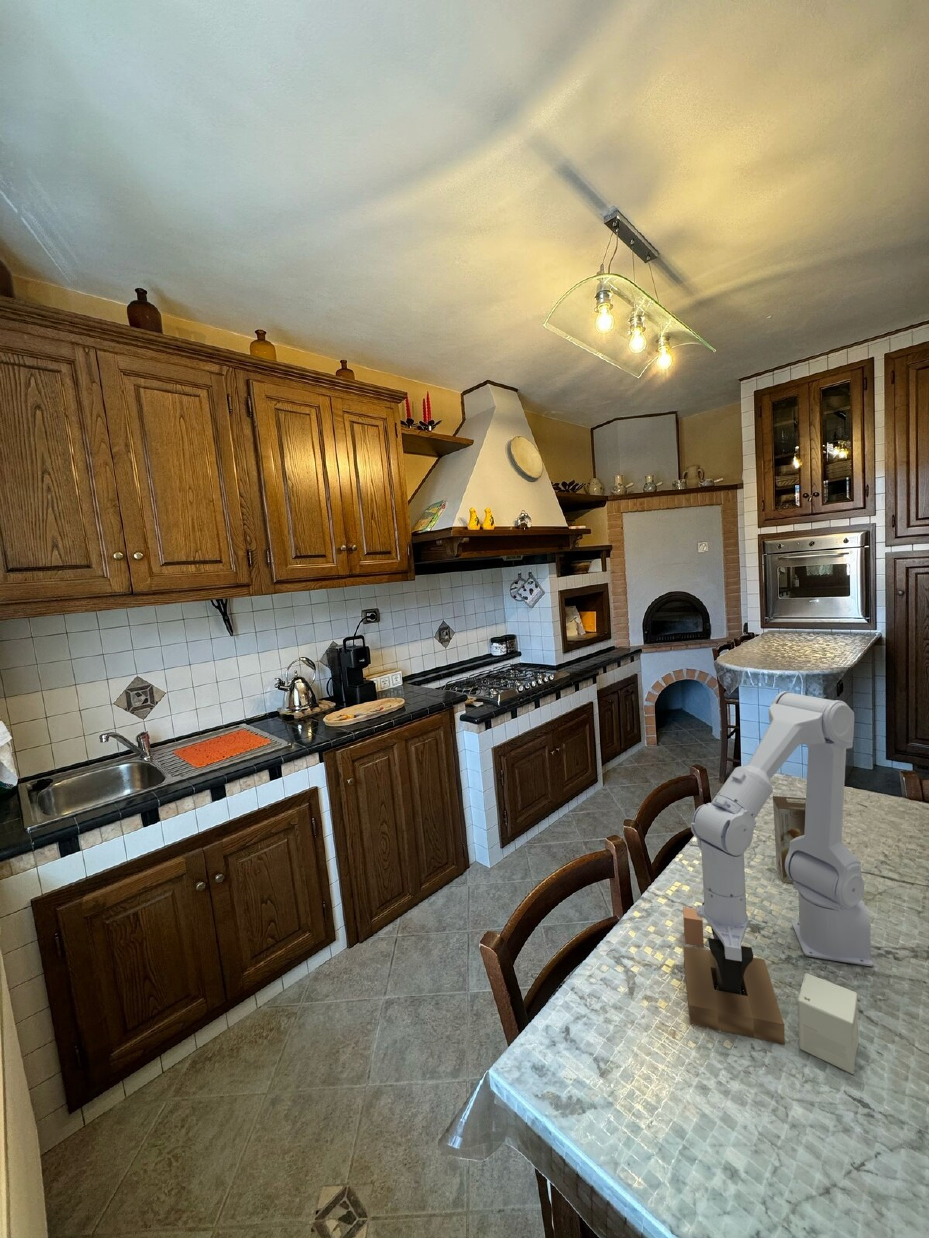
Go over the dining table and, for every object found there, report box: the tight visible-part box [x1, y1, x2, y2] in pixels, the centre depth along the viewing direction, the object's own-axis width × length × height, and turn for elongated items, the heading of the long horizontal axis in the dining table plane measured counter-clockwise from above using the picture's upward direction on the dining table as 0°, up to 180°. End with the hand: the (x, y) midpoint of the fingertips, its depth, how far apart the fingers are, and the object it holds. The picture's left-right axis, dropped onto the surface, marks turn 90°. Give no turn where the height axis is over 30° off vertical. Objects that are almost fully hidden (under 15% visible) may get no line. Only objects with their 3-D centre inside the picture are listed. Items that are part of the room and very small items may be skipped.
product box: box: [797, 972, 860, 1075], centre depth 67 cm, size 6×6×7 cm
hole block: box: [682, 945, 786, 1045], centre depth 76 cm, size 12×12×3 cm
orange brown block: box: [682, 906, 705, 948], centre depth 88 cm, size 3×3×5 cm
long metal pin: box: [713, 931, 742, 995], centre depth 75 cm, size 3×3×10 cm
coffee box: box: [772, 795, 806, 885], centre depth 102 cm, size 9×6×16 cm
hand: (727, 969), depth 75 cm, fingers open, 6 cm apart
